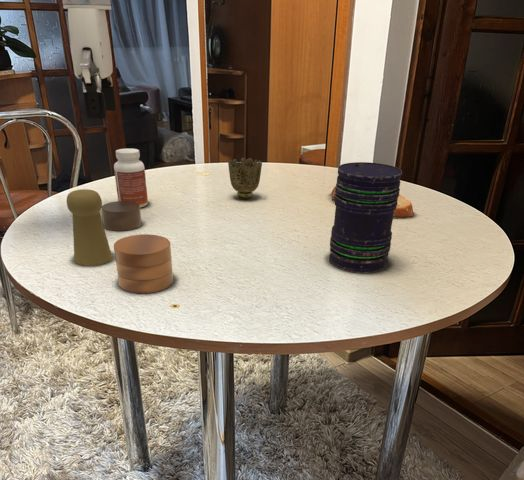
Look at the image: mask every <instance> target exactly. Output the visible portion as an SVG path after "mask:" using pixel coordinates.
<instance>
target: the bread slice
mask: <svg viewBox="0 0 524 480" xmlns="http://www.w3.org/2000/svg"><path fill="white" fill-rule="evenodd" d="M335 188H336V185H335V186H334V187H333V189H332V191H331V198H332V199H333V200H334V198H335ZM397 203H398V204H397V207H396V209H395V210H394V215H393V218H399V219H400V218H401V219H402V218H411V217H413V216H414V215H415V212H414V208H413V203H412V200H409V199H408V198H406V197H405V196H403V195H402V194H400V193H399V197H398V201H397Z"/></svg>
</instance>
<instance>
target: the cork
mask: <svg viewBox="0 0 524 480" xmlns="http://www.w3.org/2000/svg"><path fill="white" fill-rule="evenodd" d="M66 206H67V209H68V211H69V212H70V213H71V214H72V232H73V233H72V237H73V238H72V239H73V260H74V261H73V262H74V263H75V264H76V265H80V266H85V267H94V266H95V267H96V266H101V265H105V264H107V263H109V262H110V261H112V259H113V254H112V251H111V247H110V244H109V241H108V236H107V234H106V229H105V227H104V222H103V218H102V215H101V212H100V211H102V206H103V200H102V197H101V194H100V193H98V192H97V191H96V190H93V189H86V188H85V189H83V188H82V189H76V190H72V191H70V192H69V193H68V194H67V195H66Z"/></svg>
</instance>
